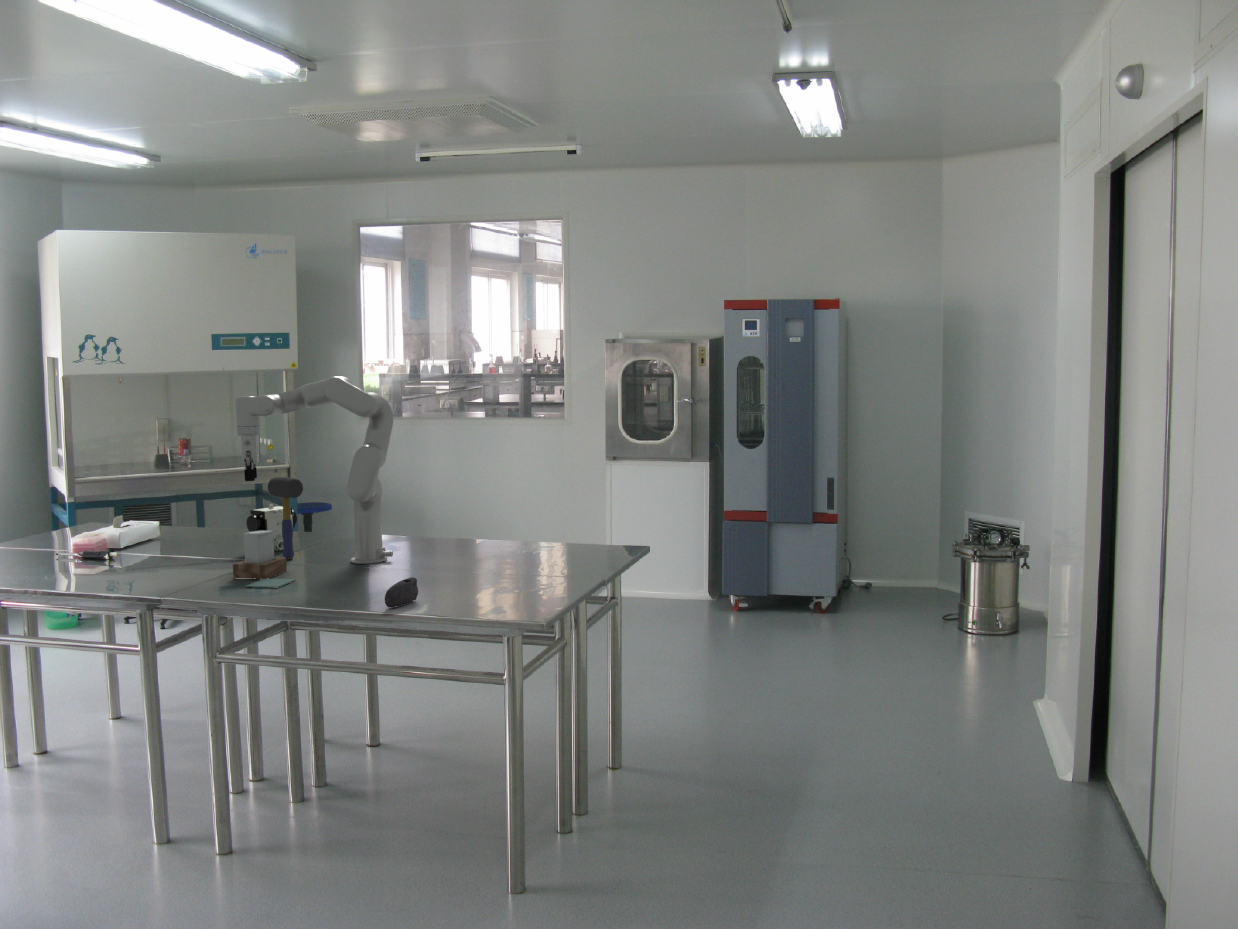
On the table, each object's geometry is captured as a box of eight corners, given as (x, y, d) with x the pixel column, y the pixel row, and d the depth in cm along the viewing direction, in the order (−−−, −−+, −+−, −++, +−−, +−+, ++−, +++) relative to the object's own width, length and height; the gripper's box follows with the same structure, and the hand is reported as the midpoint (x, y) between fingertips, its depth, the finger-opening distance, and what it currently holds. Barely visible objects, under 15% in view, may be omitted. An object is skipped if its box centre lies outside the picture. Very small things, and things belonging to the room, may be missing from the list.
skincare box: (259, 578, 326) (257, 533, 325) (244, 577, 328) (242, 533, 327) (276, 573, 334) (274, 529, 333) (261, 572, 336) (259, 529, 335)
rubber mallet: (308, 559, 359) (304, 476, 356) (290, 562, 353) (286, 478, 350) (286, 556, 366) (283, 475, 363) (269, 559, 360) (265, 477, 357)
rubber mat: (295, 581, 321) (295, 579, 321) (278, 588, 310) (277, 586, 310) (264, 580, 323) (263, 578, 323) (245, 587, 312) (245, 585, 312)
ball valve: (261, 555, 369) (259, 507, 367) (247, 553, 374) (245, 506, 372) (301, 547, 384) (299, 502, 382) (286, 545, 389) (284, 500, 387)
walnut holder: (286, 571, 337) (286, 557, 336) (265, 580, 324) (265, 564, 323) (255, 571, 339) (254, 556, 338) (233, 579, 326) (232, 564, 325)
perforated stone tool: (393, 612, 278) (392, 587, 277) (377, 610, 280) (376, 586, 279) (423, 600, 292) (423, 577, 291) (408, 599, 294) (408, 575, 293)
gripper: (257, 432, 341) (260, 481, 343) (261, 429, 358) (264, 476, 359) (234, 432, 339) (237, 482, 341) (239, 430, 356) (241, 477, 357)
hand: (251, 479), depth 350 cm, fingers open, 9 cm apart
